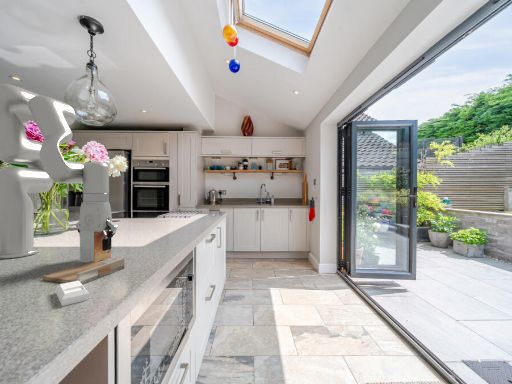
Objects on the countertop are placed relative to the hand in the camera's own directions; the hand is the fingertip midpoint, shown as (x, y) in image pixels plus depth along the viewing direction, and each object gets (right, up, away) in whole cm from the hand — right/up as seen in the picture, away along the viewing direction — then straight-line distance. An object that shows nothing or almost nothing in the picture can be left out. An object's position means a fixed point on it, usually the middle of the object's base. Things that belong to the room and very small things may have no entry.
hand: (96, 248), depth 90 cm
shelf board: (+6, -4, -14) cm, 16 cm away
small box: (0, -4, 0) cm, 4 cm away
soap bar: (+12, -5, -29) cm, 32 cm away
